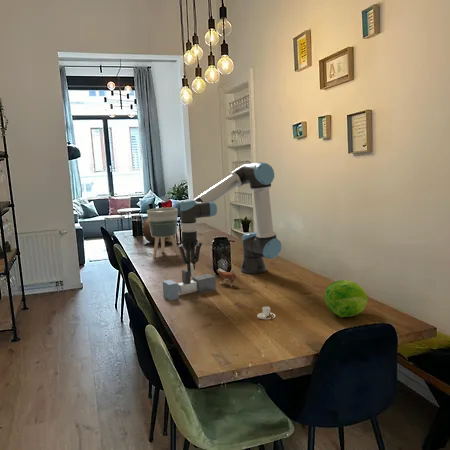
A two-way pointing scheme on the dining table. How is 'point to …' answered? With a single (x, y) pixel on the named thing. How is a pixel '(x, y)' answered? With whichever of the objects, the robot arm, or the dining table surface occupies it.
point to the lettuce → (345, 298)
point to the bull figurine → (226, 276)
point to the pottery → (149, 233)
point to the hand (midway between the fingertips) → (191, 276)
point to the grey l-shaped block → (187, 283)
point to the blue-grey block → (170, 289)
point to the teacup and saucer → (265, 313)
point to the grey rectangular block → (205, 283)
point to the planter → (163, 226)
